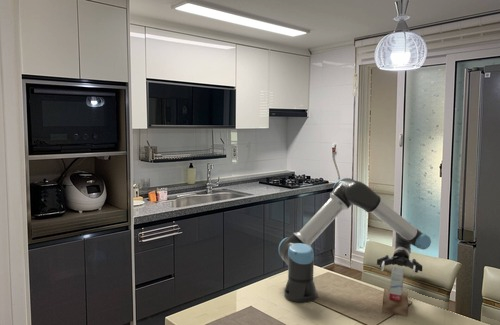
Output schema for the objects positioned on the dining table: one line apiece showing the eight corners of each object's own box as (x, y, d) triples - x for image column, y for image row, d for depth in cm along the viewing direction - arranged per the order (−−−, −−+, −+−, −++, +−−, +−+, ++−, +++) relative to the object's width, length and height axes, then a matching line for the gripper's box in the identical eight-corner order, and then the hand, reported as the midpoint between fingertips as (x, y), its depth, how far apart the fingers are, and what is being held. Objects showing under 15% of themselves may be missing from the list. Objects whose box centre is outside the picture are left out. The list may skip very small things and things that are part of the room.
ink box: (400, 302, 164) (403, 275, 163) (388, 299, 166) (391, 273, 165) (402, 293, 172) (404, 268, 170) (390, 291, 174) (392, 266, 172)
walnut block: (382, 313, 165) (382, 301, 164) (383, 299, 178) (384, 288, 177) (407, 317, 161) (407, 305, 160) (407, 302, 174) (407, 292, 173)
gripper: (427, 267, 190) (427, 283, 171) (375, 260, 201) (369, 274, 182) (428, 252, 190) (428, 267, 171) (375, 246, 200) (369, 258, 181)
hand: (397, 270), depth 176 cm, fingers open, 13 cm apart
